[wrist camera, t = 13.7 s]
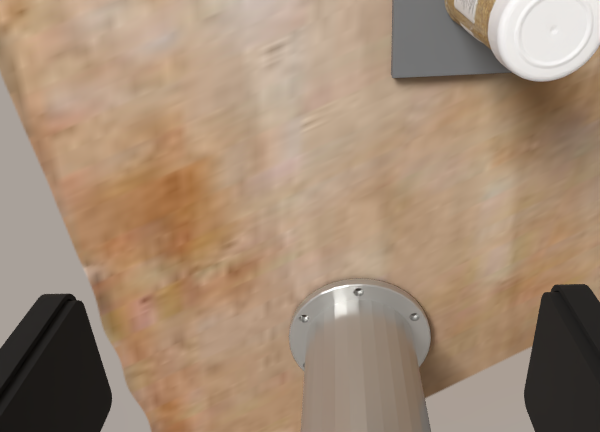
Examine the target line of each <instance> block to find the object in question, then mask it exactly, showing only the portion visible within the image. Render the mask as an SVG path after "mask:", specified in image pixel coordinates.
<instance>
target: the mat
mask: <svg viewBox="0 0 600 432" xmlns="http://www.w3.org/2000/svg"><path fill="white" fill-rule="evenodd" d="M490 73H511V71H510V70H508V69H507V68H506V67H505V66H504V65H502V64H501V63H500V62H499V61H498V60H497V58H496V57H495V55H494V54H493V52H492V50H491V49H490V48H488V47H487V46H486V45H485V44H484V43H482V42H480V41H478V40H477V39H476V38H474V37H473V36H472V35H471V34H470V33H468V32H467V31H466V30H465V29H464V28H463V27H462V26H460V25H459V24H457V23H456V22H455V21H453V20H452V18H451V17H450V15H449V14H448V12H447V10H446V7H445V0H393V6H392V60H391V75H392V78H404V77H425V76H447V75H468V74H490Z"/></svg>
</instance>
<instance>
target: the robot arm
mask: <svg viewBox="0 0 600 432" xmlns="http://www.w3.org/2000/svg"><path fill="white" fill-rule="evenodd" d="M430 342H431V335H430V327H429V323H428V319H427V317H426V315H425V312H424V310H423V308H422V307H421V306H420V305H419V303H418V302H417V301H416V300H415V299H414V298H413V297H412V296H411V295H409V294H408V293H407V292H406V291H404V290H402V289H400V288H398V287H397V286H395V285H392V284H389V283H386V282H383V281H378V280H373V279H348V280H341V281H337V282H334V283H331V284H328V285H326V286H324V287H322V288H320V289H317V290H316V291H314V292H313V293H312V294H310V295H309V296H308V297H306V298H305V299H304V301H303V302H302V303H301V304H300V305H299V306H298V308H297V310H296V311H295V313H294V315H293V317H292V321H291V324H290V332H289V344H290V349H291V352H292V355H293V358H294V359H295V361H296V362H297V364H298V366H299V367H300V368H301V369H302V370H303V371H304V386H303V402H302V418H301V432H431V429H430V424H429V418H428V413H427V408H426V402H425V397H424V392H423V387H422V381H421V376H420V371H419V367H420V366H421V364H422V363H423V362H424V360H425V358H426V356H427V354H428V352H429V348H430ZM524 398H525V405H526V409H527V412H528V414H529V417H530V420H531V422H532V424H533V427H534V430H535V432H600V302H599V301H598V299H597V298H596V296H595V295H594V293H593V292H592V290H591V289H590V288H589V287H588V286H587V285H585V284H571V285H554V286H553V288H552V289H551V292H545V293H544V294H543V295H542V299H541V304H540V309H539V314H538V320H537V325H536V331H535V336H534V341H533V347H532V352H531V357H530V363H529V368H528V374H527V379H526V384H525V390H524ZM111 403H112V393H111V389H110V386H109V383H108V380H107V377H106V374H105V370H104V367H103V364H102V361H101V358H100V354H99V351H98V348H97V345H96V342H95V339H94V335H93V332H92V329H91V326H90V322H89V319H88V316H87V313H86V310H85V307H84V304H83V303H82V301H79V300H78V301H77V300H76V298H75V297H74V296H73V295H72V294H44V295H42V296H40V297H39V298H38V300H37V301H36V302H35V304H34V305H33V306H32V308H31V309H30V310H29V311H28V313H27V314H26V315H25V317H24V318H23V319H22V321H21V322H20V323H19V325H18V326H17V327H16V329H15V330H14V331H13V333H12V334H11V335H10V336H9V338H8V339H7V341H6V342H5V343H4V344H3V346H2V347H1V348H0V432H100V431H101V429H102V427H103V424H104V422H105V420H106V418H107V415H108V413H109V411H110V408H111Z"/></svg>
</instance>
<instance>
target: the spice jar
mask: <svg viewBox="0 0 600 432" xmlns="http://www.w3.org/2000/svg"><path fill="white" fill-rule="evenodd" d="M445 7H446V10H447V12H448V14H449V15H450V17H451V18H452V20H453V21H455V22H456V23H457V24H459V25H460V26H462V27H463V28H464V29H465V30H466V31H467V32H468V33H470V34H471V35H472V36H473V37H474V38H476V39H477V40H478V41H480V42H482V43H484V44H485V45H486V46H487V47H488V48H490V49H491V50H492V52H493V54H494V55H495V57H496V58H497V60H498V61H499V62H500V63H501V64H502V65H504V66H505V67H506V68H507V69H508V70H510V71H511V72H513V73H514V74H516V75H517V76H519V77H521V78H524V79H527V80H531V81H539V82H543V81H552V80H556V79H560V78H562V77H565V76H567V75H569V74H571V73H573V72H574V71H576V70H577V69H579V68H580V67H581V66H583V65H584V64H585V63H586V62H587V61H588V60H589V59H590V58H591V57H592V55H593V54H594V53H595V52H596V50H597V49H598V47H599V45H600V0H445Z"/></svg>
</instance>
